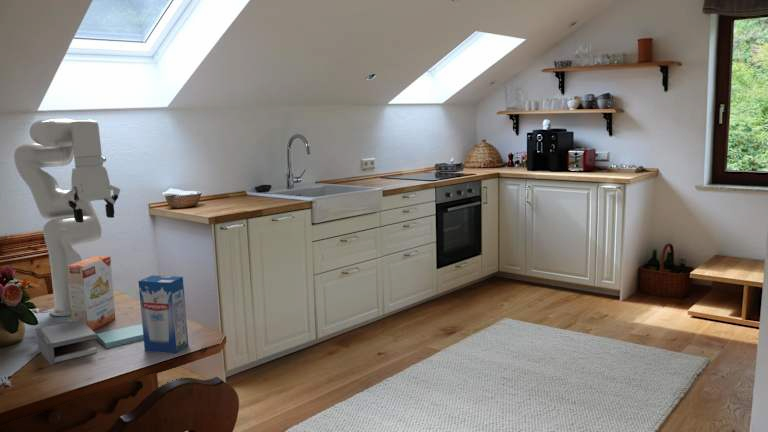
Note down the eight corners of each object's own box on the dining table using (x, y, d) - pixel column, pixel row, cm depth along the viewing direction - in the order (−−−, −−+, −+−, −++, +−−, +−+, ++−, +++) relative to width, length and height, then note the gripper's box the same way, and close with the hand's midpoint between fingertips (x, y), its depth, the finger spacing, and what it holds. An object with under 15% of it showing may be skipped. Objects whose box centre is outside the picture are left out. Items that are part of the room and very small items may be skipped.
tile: (96, 340, 193) (96, 334, 193) (151, 328, 203) (150, 322, 202) (106, 349, 185) (105, 343, 185) (162, 336, 195) (162, 330, 195)
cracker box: (89, 333, 198) (82, 266, 194) (72, 332, 199) (64, 265, 195) (117, 318, 211) (111, 255, 208) (100, 318, 212) (94, 255, 209)
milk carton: (188, 345, 185) (183, 276, 182) (176, 353, 179) (170, 282, 176) (157, 343, 188) (151, 275, 184) (144, 351, 182) (138, 281, 179)
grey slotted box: (38, 348, 186) (35, 329, 185) (83, 338, 193) (81, 319, 193) (50, 364, 174) (47, 344, 173) (97, 353, 181) (95, 333, 180)
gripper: (109, 160, 203) (115, 215, 205) (53, 165, 189) (60, 223, 191) (122, 160, 198) (128, 216, 201) (66, 165, 184) (73, 225, 187)
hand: (95, 219), depth 196 cm, fingers open, 9 cm apart
